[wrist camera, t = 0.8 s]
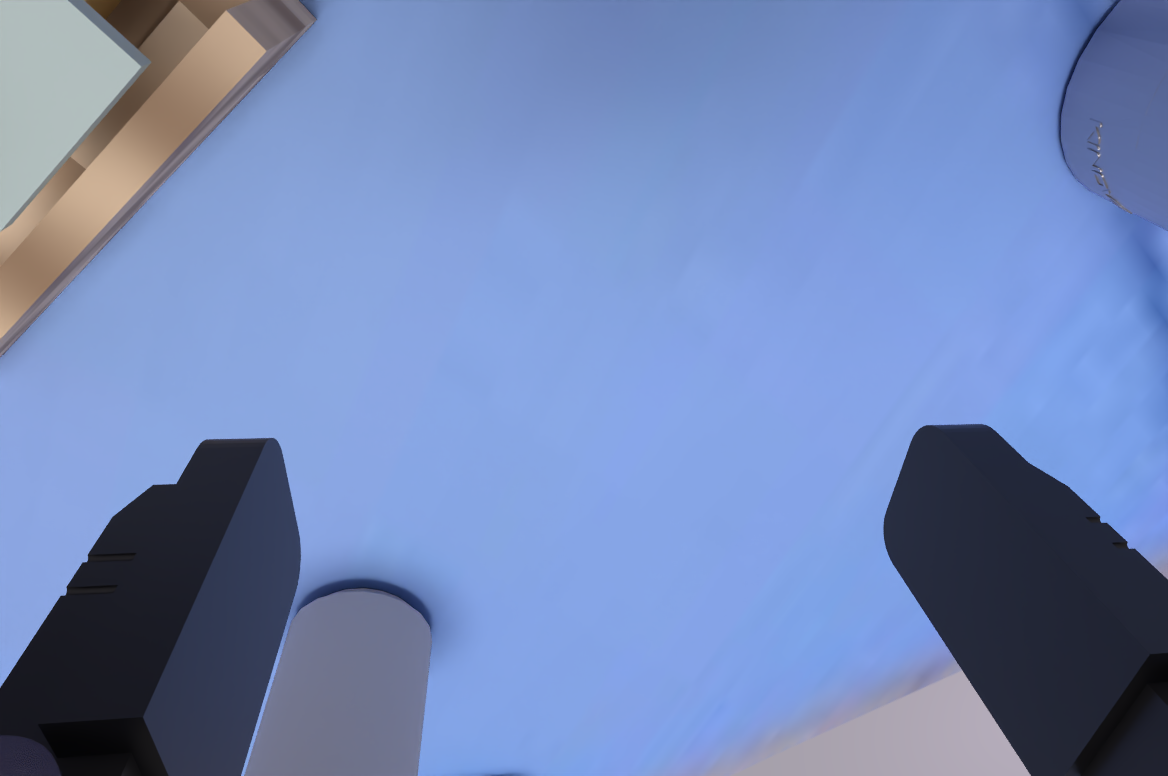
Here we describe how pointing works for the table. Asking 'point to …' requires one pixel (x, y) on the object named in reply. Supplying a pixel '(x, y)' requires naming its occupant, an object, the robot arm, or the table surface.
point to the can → (347, 690)
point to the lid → (54, 89)
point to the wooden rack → (140, 137)
